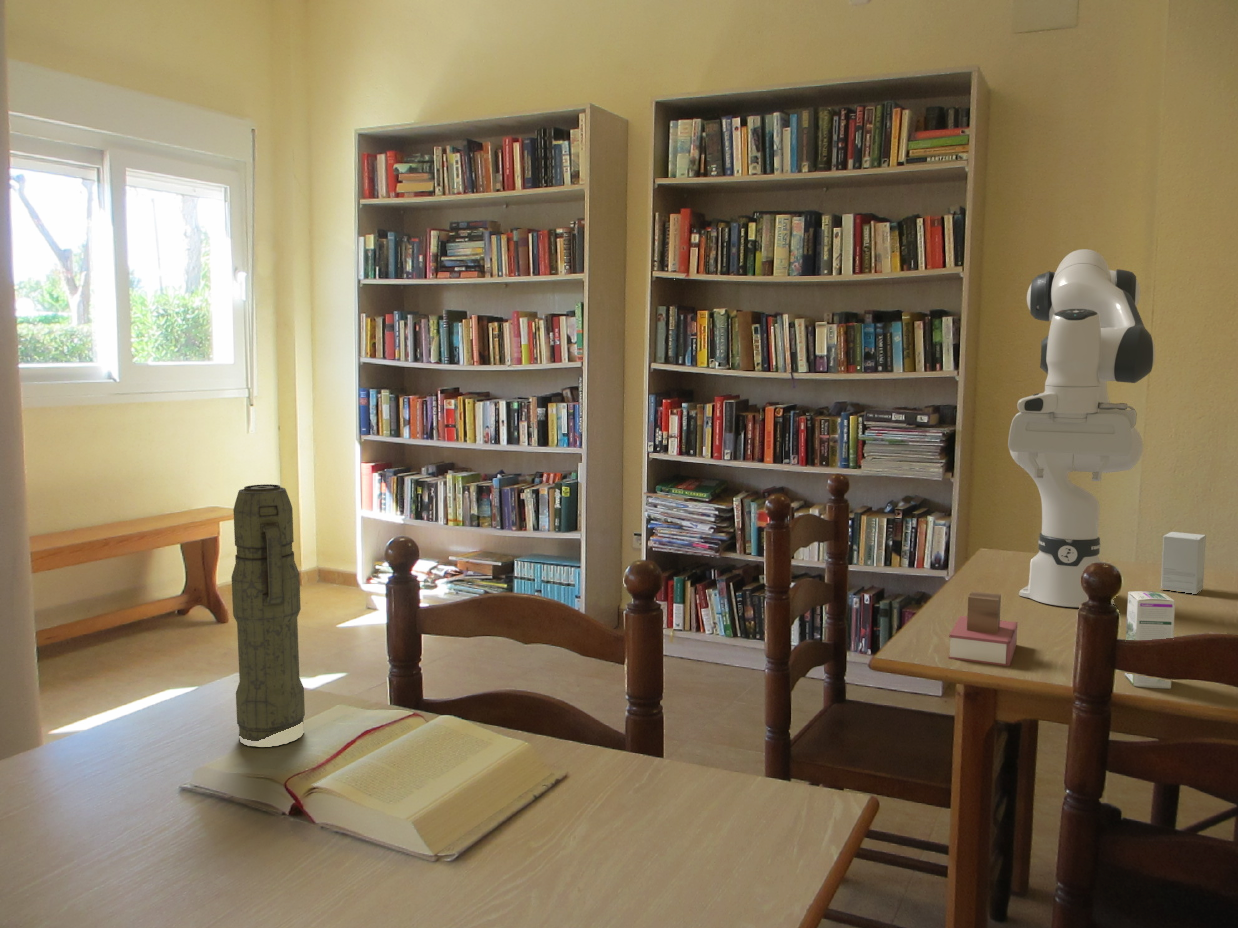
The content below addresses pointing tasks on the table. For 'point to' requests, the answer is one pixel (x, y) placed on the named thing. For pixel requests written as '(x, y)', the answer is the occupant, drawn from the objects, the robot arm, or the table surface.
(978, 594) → the walnut block
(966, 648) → the book
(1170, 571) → the supplement box
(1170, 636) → the syrup box
